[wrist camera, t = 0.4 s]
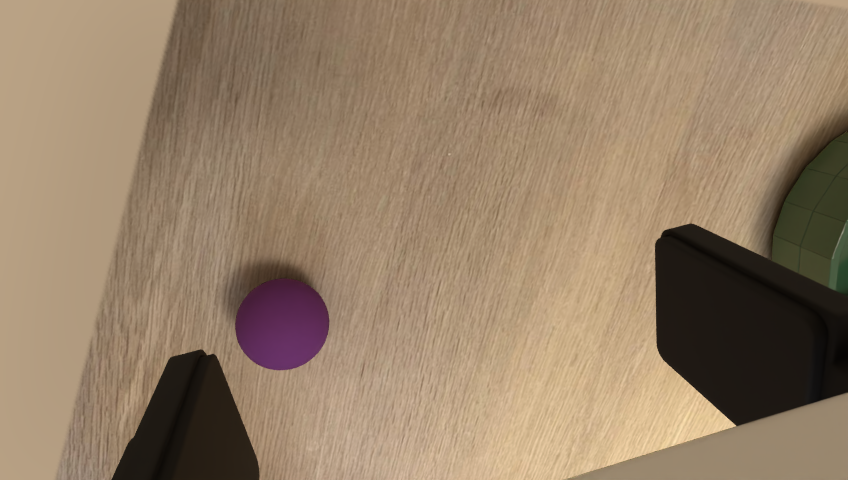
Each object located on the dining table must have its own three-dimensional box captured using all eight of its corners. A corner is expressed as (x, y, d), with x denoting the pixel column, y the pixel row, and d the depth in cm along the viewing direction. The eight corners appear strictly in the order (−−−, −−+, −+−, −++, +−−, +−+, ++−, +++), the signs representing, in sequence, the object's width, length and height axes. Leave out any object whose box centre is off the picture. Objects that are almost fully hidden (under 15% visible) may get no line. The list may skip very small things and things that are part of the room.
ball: (228, 277, 30) (214, 320, 26) (314, 254, 31) (314, 292, 26) (257, 349, 32) (248, 400, 28) (337, 326, 33) (341, 372, 28)
